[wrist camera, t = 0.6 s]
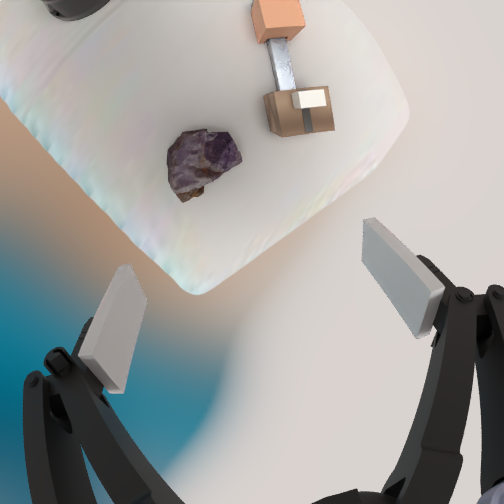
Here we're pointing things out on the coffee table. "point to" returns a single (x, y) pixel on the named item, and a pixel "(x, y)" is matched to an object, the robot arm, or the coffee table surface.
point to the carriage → (277, 19)
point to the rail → (281, 63)
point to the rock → (199, 161)
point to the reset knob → (308, 98)
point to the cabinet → (297, 114)
